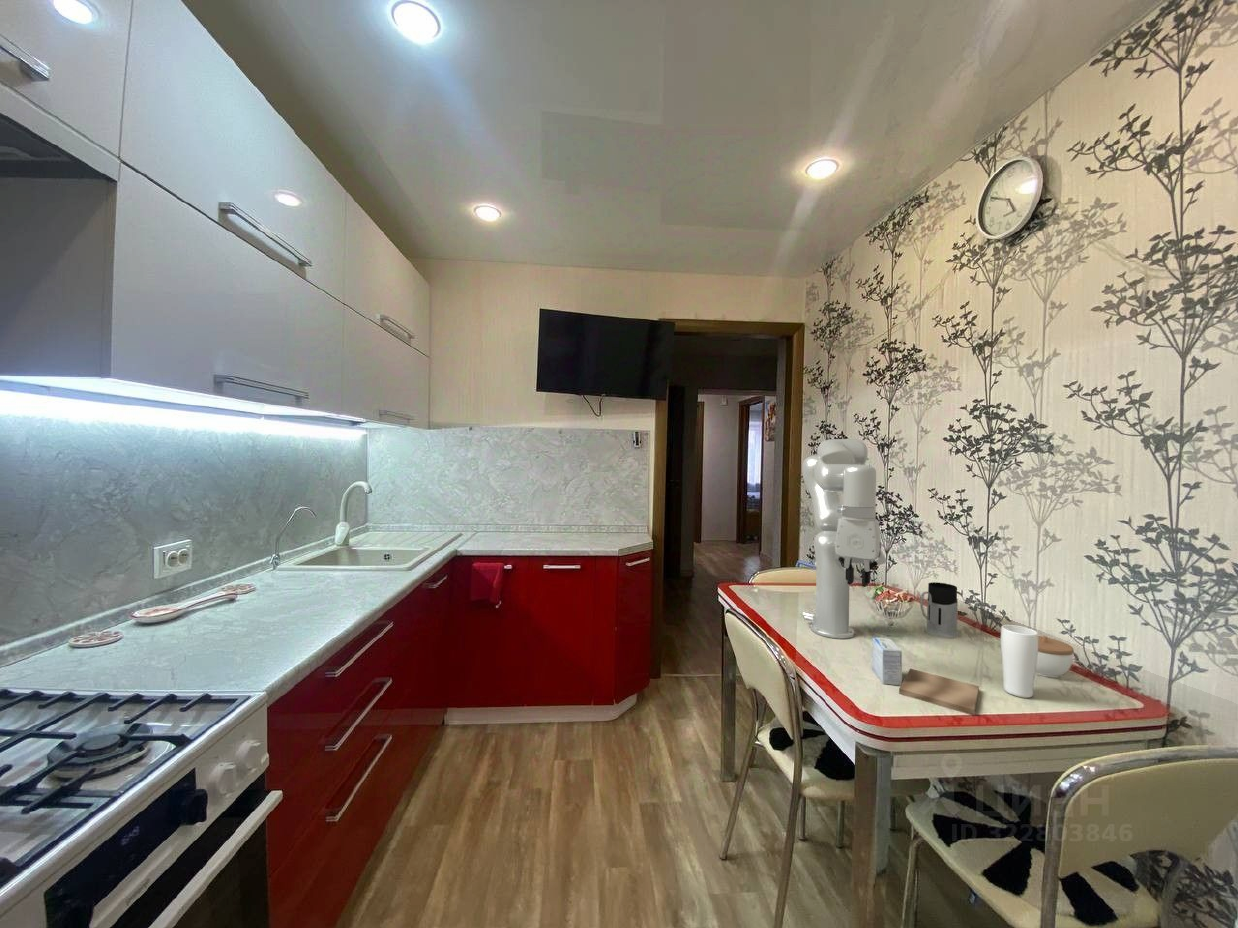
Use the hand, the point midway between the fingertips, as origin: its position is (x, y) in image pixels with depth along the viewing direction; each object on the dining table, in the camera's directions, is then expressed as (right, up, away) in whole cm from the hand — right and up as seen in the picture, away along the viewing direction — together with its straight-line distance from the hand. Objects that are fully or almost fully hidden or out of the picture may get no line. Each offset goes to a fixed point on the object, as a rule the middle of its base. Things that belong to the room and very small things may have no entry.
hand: (857, 583), depth 123 cm
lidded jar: (+48, -23, 0) cm, 53 cm away
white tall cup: (+32, -23, -11) cm, 41 cm away
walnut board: (+13, -22, -11) cm, 29 cm away
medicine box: (+5, -23, -4) cm, 24 cm away
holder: (+37, -22, +26) cm, 51 cm away
